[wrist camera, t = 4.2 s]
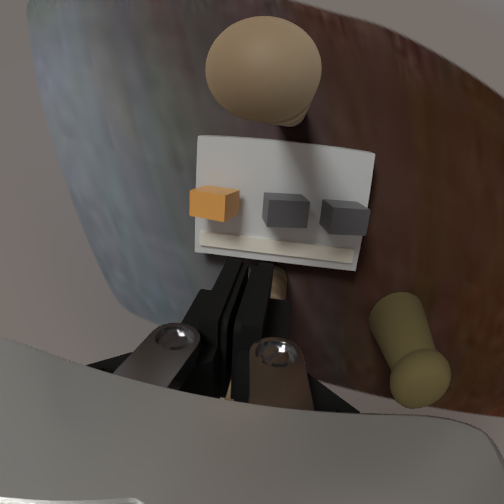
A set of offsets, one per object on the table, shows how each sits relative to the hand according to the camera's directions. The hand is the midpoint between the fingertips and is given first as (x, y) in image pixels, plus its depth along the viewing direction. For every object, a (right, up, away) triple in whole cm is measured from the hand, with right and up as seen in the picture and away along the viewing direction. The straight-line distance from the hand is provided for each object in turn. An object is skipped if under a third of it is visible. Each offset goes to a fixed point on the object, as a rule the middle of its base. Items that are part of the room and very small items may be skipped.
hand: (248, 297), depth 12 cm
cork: (+15, -5, +19) cm, 24 cm away
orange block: (-2, +6, +14) cm, 16 cm away
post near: (+3, +13, +13) cm, 19 cm away
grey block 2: (+7, +5, +13) cm, 16 cm away
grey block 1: (+2, +6, +14) cm, 15 cm away
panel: (+3, +6, +16) cm, 17 cm away
